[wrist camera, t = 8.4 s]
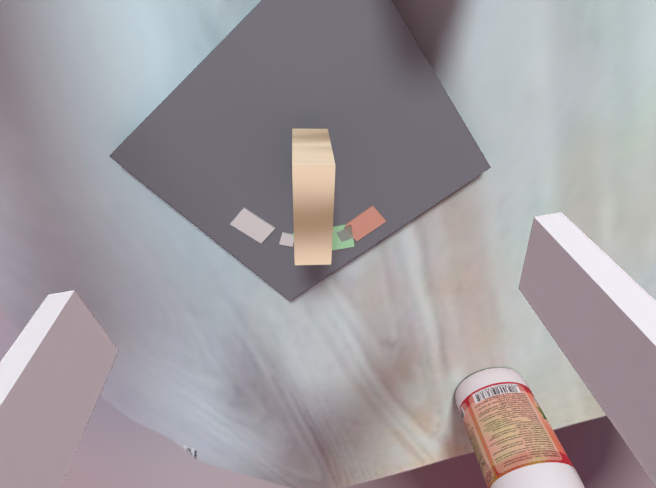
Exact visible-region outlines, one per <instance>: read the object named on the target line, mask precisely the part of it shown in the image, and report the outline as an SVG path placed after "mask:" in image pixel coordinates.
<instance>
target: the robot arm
mask: <svg viewBox="0 0 656 488" xmlns="http://www.w3.org/2000/svg"><path fill="white" fill-rule="evenodd" d="M519 290H520V291H521V293H522V294H523V295H524V297H525V298H526V300H527V301H528V303H529V304H530V305H531V307H532V308H533V310H534V311H535V313H536V314H537V316H538V317H539V318H540V320H541V321H542V323H543V324H544V326H545V327H546V329H547V330H548V331H549V333H550V334H551V336H552V337H553V339H554V340H555V342H556V343H557V344H558V346H559V347H560V349H561V350H562V352H563V353H564V355H565V356H566V357H567V359H568V360H569V362H570V363H571V365H572V366H573V368H574V369H575V370H576V372H577V373H578V375H579V376H580V378H581V379H582V381H583V382H584V383H585V385H586V386H587V388H588V389H589V391H590V392H591V393H592V395H593V396H594V398H595V399H596V401H597V402H598V404H599V405H600V406H601V408H602V409H603V411H604V412H605V414H606V415H607V417H608V418H609V419H610V421H611V422H612V424H613V425H614V427H615V428H616V430H617V431H618V432H619V434H620V435H621V437H622V438H623V440H624V441H625V442H626V444H627V445H628V447H629V448H630V450H631V451H632V453H633V454H634V455H635V457H636V458H637V460H638V461H639V463H640V464H641V466H642V467H643V468H644V470H645V471H646V473H647V474H648V476H649V477H650V479H651V480H652V481H653V483H654V484H655V486H656V301H655V300H654V299H653V298H652V297H651V296H650V295H649V294H648V293H647V292H646V291H645V290H643V289H642V288H641V287H640V286H639V285H638V284H637V283H636V282H635V281H634V280H633V279H632V278H631V277H630V276H629V275H627V274H626V273H625V272H624V271H623V270H622V269H621V268H620V267H619V266H618V265H617V264H616V263H615V262H614V261H613V260H611V259H610V258H609V257H608V256H607V255H606V254H605V253H604V252H603V251H602V250H601V249H600V248H599V247H598V246H597V245H595V244H594V243H593V242H592V241H591V240H590V239H589V238H588V237H587V236H586V235H585V234H584V233H583V232H582V231H581V230H579V229H578V228H577V227H576V226H575V225H574V224H573V223H572V222H571V221H570V220H569V219H568V218H567V217H566V216H565V215H564V214H562V213H555V214H549V215H543V216H537V217H534V219H533V224H532V229H531V233H530V238H529V242H528V247H527V252H526V256H525V261H524V265H523V270H522V275H521V279H520V284H519ZM118 352H119V350H118V349H117V347H116V346H115V345H114V343H113V342H112V341H111V339H110V338H109V337H108V335H107V334H106V332H105V331H104V330H103V328H102V327H101V326H100V324H99V323H98V322H97V320H96V319H95V317H94V316H93V315H92V313H91V312H90V311H89V309H88V308H87V306H86V305H85V304H84V302H83V301H82V300H81V298H80V297H79V296H78V294H77V293H76V291H75V290H73V291H66V292H60V293H54V294H48V296H47V297H46V298H45V300H44V301H43V303H42V304H41V305H40V307H39V308H38V310H37V311H36V312H35V314H34V315H33V317H32V318H31V319H30V321H29V322H28V324H27V325H26V326H25V328H24V329H23V331H22V332H21V334H20V335H19V336H18V338H17V339H16V341H15V342H14V343H13V345H12V346H11V348H10V349H9V350H8V352H7V353H6V355H5V356H4V358H3V359H2V360H1V362H0V488H60V487H61V484H62V482H63V479H64V477H65V475H66V473H67V470H68V468H69V466H70V463H71V461H72V459H73V456H74V454H75V452H76V449H77V447H78V445H79V442H80V440H81V438H82V435H83V433H84V431H85V428H86V426H87V424H88V422H89V419H90V417H91V415H92V412H93V410H94V408H95V405H96V403H97V401H98V398H99V396H100V394H101V391H102V389H103V387H104V384H105V382H106V380H107V377H108V375H109V373H110V370H111V368H112V366H113V363H114V361H115V359H116V356H117V354H118Z"/></svg>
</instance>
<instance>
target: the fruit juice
mask: <svg viewBox="0 0 656 488" xmlns="http://www.w3.org/2000/svg"><path fill="white" fill-rule="evenodd" d="M455 399H456V403H457V407H458V409H459V412H460V415H461V417H462V420H463V423H464V425H465V428H466V431H467V434H468V436H469V439H470V442H471V444H472V447H473V450H474V452H475V455H476V457H477V460H478V463H479V465H480V468H481V471H482V473H483V476H484V479H485V481H486V484H487V487H488V488H585V487H584V486H583V483H582V481H581V480H580V477H579V476H578V474H577V472H576V470H575V469H574V467H573V465H572V463H571V462H570V460H569V458H568V456H567V455H566V453H565V451H564V449H563V447H562V446H561V444H560V442H559V440H558V438H557V437H556V435H555V433H554V431H553V429H552V428H551V426H550V424H549V422H548V421H547V419H546V417H545V415H544V413H543V412H542V410H541V408H540V406H539V404H538V403H537V401H536V399H535V397H534V396H533V394H532V392H531V390H530V388H529V387H528V385H527V383H526V381H525V380H524V379H523V377H522V376H521V375H520V374H519V373H518V372H516V371H514V370H512V369H508V368H489V369H485V370H482V371H479V372H476V373H474V374H472V375H470V376H469V377H467V378H466V379H464V380H463V381H462V382H461V383H460V384H459V386H458V387H457V389H456V393H455Z"/></svg>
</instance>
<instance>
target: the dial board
mask: <svg viewBox="0 0 656 488" xmlns="http://www.w3.org/2000/svg"><path fill="white" fill-rule="evenodd" d="M292 129H328V132H329V137H330V141H331V146H332V151H333V155H334V160H335V165H336V167H335V190H334V213H333V236H332V259H331V265H295V260H294V221H293V183H292V171H291V159H292ZM110 157H111V158H112V159H113V160H115V161H116V162H117V163H118V164H120V165H121V166H122V167H123V168H125V169H126V170H127V171H128V172H130V173H131V174H132V175H133V176H135V177H136V178H137V179H138V180H140V181H141V182H142V183H143V184H145V185H146V186H147V187H148V188H150V189H151V190H152V191H153V192H154V193H156V194H157V195H158V196H159V197H161V198H162V199H163V200H164V201H166V202H167V203H168V204H169V205H171V206H172V207H173V208H174V209H176V210H177V211H178V212H179V213H181V214H182V215H183V216H184V217H186V218H187V219H188V220H189V221H191V222H192V223H193V224H194V225H196V226H197V227H198V228H199V229H201V230H202V231H203V232H204V233H206V234H207V235H208V236H209V237H211V238H212V239H213V240H214V241H216V242H217V243H218V244H219V245H221V246H222V247H223V248H224V249H225V250H227V251H228V252H229V253H230V254H232V255H233V256H234V257H235V258H237V259H238V260H239V261H240V262H242V263H243V264H244V265H245V266H247V267H248V268H249V269H250V270H252V271H253V272H254V273H255V274H257V275H258V276H259V277H260V278H262V279H263V280H264V281H265V282H267V283H268V284H269V285H270V286H272V287H273V288H274V289H275V290H277V291H278V292H279V293H280V294H282V295H283V296H284V297H285V298H287V299H288V300H289V301H290V300H292V299H293V298H295V297H296V296H298V295H299V294H301V293H302V292H304V291H305V290H307V289H308V288H310V287H311V286H313V285H314V284H316V283H317V282H319V281H320V280H322V279H323V278H325V277H326V276H328V275H329V274H331V273H332V272H334V271H335V270H337V269H338V268H340V267H341V266H343V265H344V264H346V263H348V262H349V261H351V260H352V259H354V258H355V257H357V256H358V255H360V254H361V253H363V252H364V251H366V250H367V249H369V248H370V247H372V246H373V245H375V244H376V243H378V242H379V241H381V240H382V239H384V238H385V237H387V236H388V235H390V234H391V233H393V232H394V231H396V230H397V229H399V228H400V227H402V226H403V225H405V224H406V223H408V222H409V221H411V220H412V219H414V218H415V217H417V216H418V215H420V214H421V213H423V212H424V211H426V210H427V209H429V208H430V207H432V206H434V205H435V204H437V203H438V202H440V201H441V200H443V199H444V198H446V197H447V196H449V195H450V194H452V193H453V192H455V191H456V190H458V189H459V188H461V187H462V186H464V185H465V184H467V183H468V182H470V181H471V180H473V179H474V178H476V177H477V176H479V175H480V174H482V173H483V172H485V171H486V170H488V169H489V168H491V167H490V165H489V164H488V162H487V160H486V159H485V157H484V155H483V154H482V152H481V150H480V148H479V147H478V145H477V143H476V142H475V140H474V138H473V137H472V135H471V133H470V132H469V130H468V128H467V126H466V125H465V123H464V121H463V120H462V118H461V116H460V115H459V113H458V111H457V110H456V108H455V106H454V105H453V103H452V101H451V99H450V98H449V96H448V94H447V93H446V91H445V89H444V88H443V86H442V84H441V83H440V81H439V79H438V78H437V76H436V74H435V72H434V71H433V69H432V67H431V66H430V64H429V62H428V61H427V59H426V57H425V56H424V54H423V52H422V50H421V49H420V47H419V45H418V44H417V42H416V40H415V39H414V37H413V35H412V34H411V32H410V30H409V29H408V27H407V25H406V23H405V22H404V20H403V18H402V17H401V15H400V13H399V12H398V10H397V8H396V7H395V5H394V3H393V1H392V0H262V1H261V2H260V3H259V4H258V5H257V6H256V7H255V8H254V9H253V10H252V11H251V12H250V13H249V14H248V15H247V16H246V17H245V18H244V19H243V20H242V21H241V22H240V23H239V24H238V25H237V26H236V27H235V28H234V29H233V30H232V31H231V32H230V33H229V34H228V35H227V37H226V38H225V39H224V40H223V41H222V42H221V43H220V44H219V45H218V46H217V47H216V48H215V49H214V50H213V51H212V52H211V53H210V54H209V55H208V56H207V57H206V58H205V59H204V60H203V61H202V62H201V63H200V64H199V65H198V66H197V67H196V68H195V69H194V70H193V71H192V72H191V73H190V74H189V75H188V76H187V77H186V78H185V79H184V80H183V81H182V82H181V83H180V84H179V85H178V86H177V88H176V89H175V90H174V91H173V92H172V93H171V94H170V95H169V96H168V97H167V98H166V99H165V100H164V101H163V102H162V103H161V104H160V105H159V106H158V107H157V108H156V109H155V110H154V111H153V112H152V113H151V114H150V115H149V116H148V117H147V118H146V119H145V120H144V121H143V122H142V123H141V124H140V125H139V126H138V127H137V128H136V129H135V130H134V131H133V132H132V133H131V134H130V135H129V136H128V137H127V139H126V140H125V141H124V142H123V143H122V144H121V145H120V146H119V147H118V148H117V149H116V150H115V151H114V152H113V153H112V154H111V155H110Z"/></svg>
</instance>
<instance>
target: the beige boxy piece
mask: <svg viewBox="0 0 656 488" xmlns="http://www.w3.org/2000/svg"><path fill="white" fill-rule="evenodd" d="M335 167H336V165H335V160H334V155H333V151H332V146H331V141H330V137H329V132H328V129H292V159H291V171H292V183H293V221H294V260H295V265H331V259H332V236H333V213H334V190H335Z"/></svg>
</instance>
